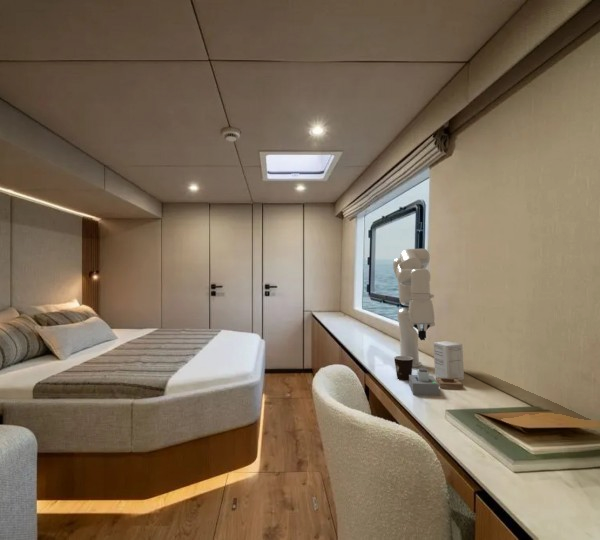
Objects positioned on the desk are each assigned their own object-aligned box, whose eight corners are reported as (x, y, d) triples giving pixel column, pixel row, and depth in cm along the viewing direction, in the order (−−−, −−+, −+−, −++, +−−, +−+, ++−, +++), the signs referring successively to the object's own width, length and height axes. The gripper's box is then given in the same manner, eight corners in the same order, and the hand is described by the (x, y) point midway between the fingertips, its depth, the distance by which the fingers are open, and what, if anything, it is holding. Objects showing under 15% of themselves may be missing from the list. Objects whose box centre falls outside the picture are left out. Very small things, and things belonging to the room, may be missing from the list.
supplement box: (450, 374, 158) (449, 340, 159) (464, 380, 149) (463, 343, 150) (434, 376, 156) (432, 341, 156) (447, 382, 147) (446, 345, 147)
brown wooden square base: (435, 382, 147) (435, 377, 147) (457, 383, 145) (456, 378, 145) (440, 389, 138) (440, 383, 138) (462, 390, 136) (462, 384, 136)
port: (409, 386, 143) (408, 373, 143) (433, 387, 141) (432, 374, 141) (413, 395, 131) (412, 382, 131) (439, 396, 129) (438, 383, 129)
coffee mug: (415, 382, 148) (414, 360, 149) (395, 381, 150) (395, 359, 150) (411, 374, 160) (410, 354, 160) (393, 374, 161) (392, 354, 162)
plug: (417, 387, 138) (417, 367, 139) (427, 388, 137) (426, 368, 138) (419, 391, 135) (418, 370, 135) (429, 391, 134) (428, 370, 134)
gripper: (437, 296, 141) (438, 338, 140) (401, 297, 144) (403, 337, 144) (441, 297, 133) (442, 341, 133) (403, 298, 137) (405, 341, 136)
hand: (422, 339), depth 138 cm, fingers closed
